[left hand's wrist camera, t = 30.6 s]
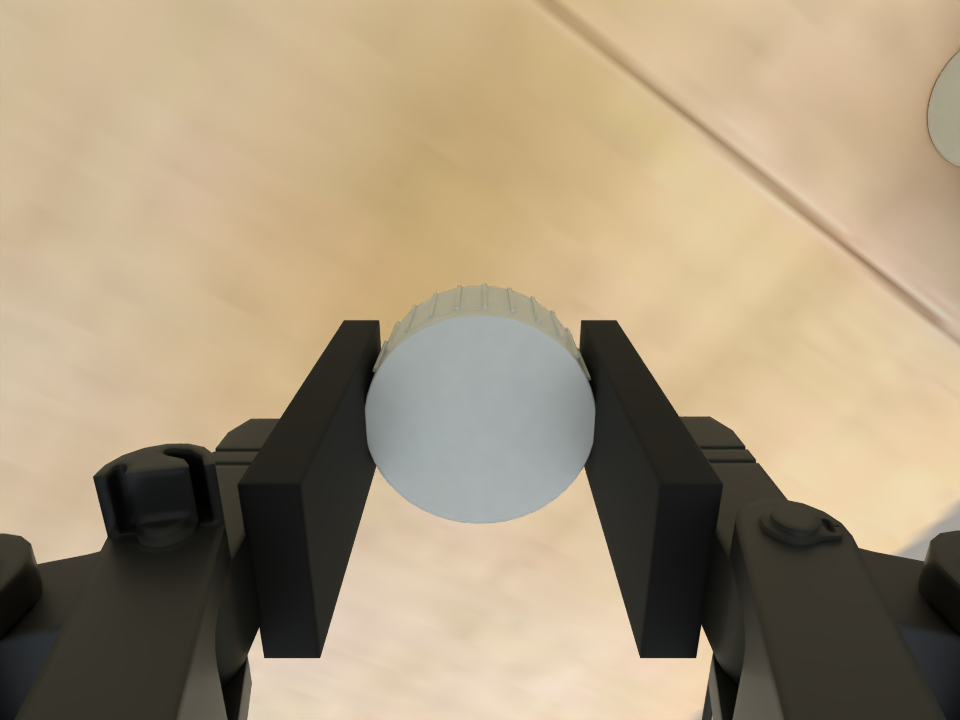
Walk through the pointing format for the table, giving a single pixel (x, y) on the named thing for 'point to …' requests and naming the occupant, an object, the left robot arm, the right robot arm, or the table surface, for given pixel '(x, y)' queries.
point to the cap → (480, 406)
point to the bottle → (946, 112)
